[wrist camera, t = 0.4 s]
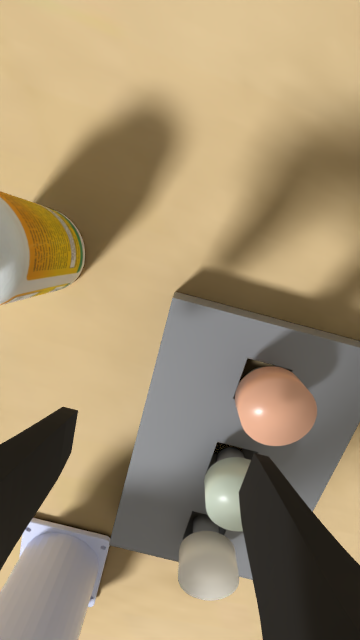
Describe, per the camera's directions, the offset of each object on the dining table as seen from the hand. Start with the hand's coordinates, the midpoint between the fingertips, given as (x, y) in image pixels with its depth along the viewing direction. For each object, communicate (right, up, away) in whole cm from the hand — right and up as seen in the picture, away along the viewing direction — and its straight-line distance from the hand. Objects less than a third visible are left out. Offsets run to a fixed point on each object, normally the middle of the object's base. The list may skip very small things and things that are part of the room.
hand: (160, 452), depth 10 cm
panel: (+5, -4, +10) cm, 12 cm away
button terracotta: (+6, +1, +7) cm, 9 cm away
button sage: (+4, -5, +8) cm, 11 cm away
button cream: (+3, -11, +10) cm, 15 cm away
